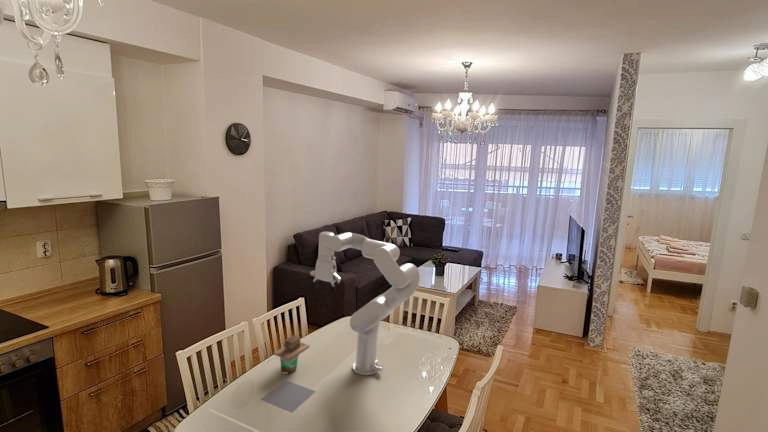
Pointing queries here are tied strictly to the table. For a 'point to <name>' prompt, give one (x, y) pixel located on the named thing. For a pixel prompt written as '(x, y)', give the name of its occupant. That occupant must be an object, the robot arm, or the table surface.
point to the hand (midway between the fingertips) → (324, 291)
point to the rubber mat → (288, 396)
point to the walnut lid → (291, 348)
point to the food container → (288, 365)
